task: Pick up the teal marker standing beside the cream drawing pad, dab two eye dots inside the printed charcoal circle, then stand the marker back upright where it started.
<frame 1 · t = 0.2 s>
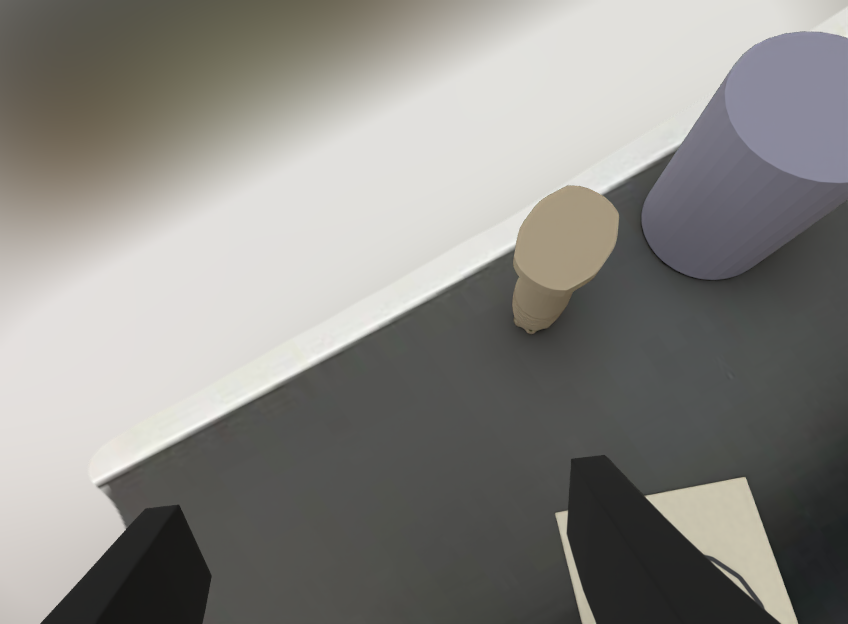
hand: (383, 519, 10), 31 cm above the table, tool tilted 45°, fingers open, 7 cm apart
handle: (531, 316, 42), on the table
container: (701, 225, 43), on the table
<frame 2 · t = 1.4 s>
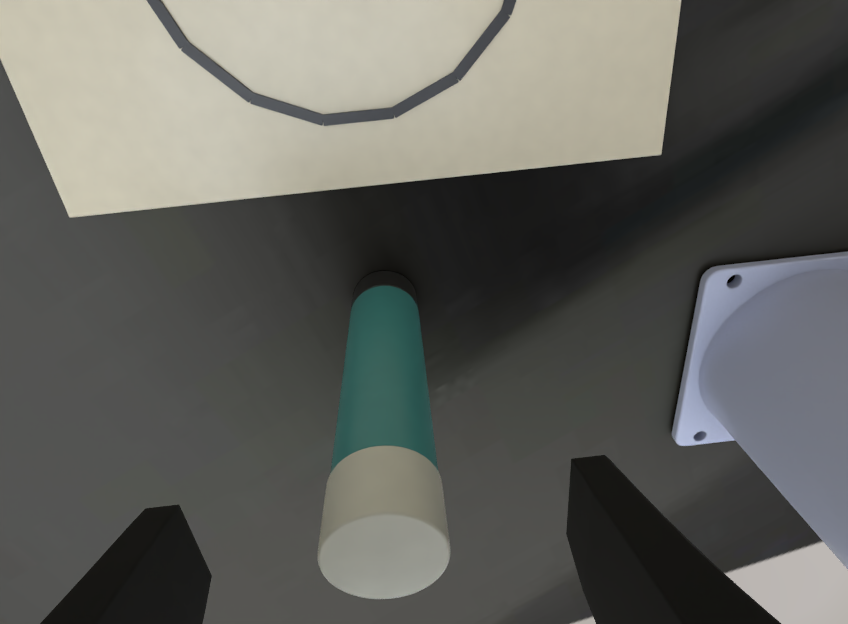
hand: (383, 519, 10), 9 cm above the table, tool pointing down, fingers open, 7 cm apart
marker: (384, 299, 18), on the table
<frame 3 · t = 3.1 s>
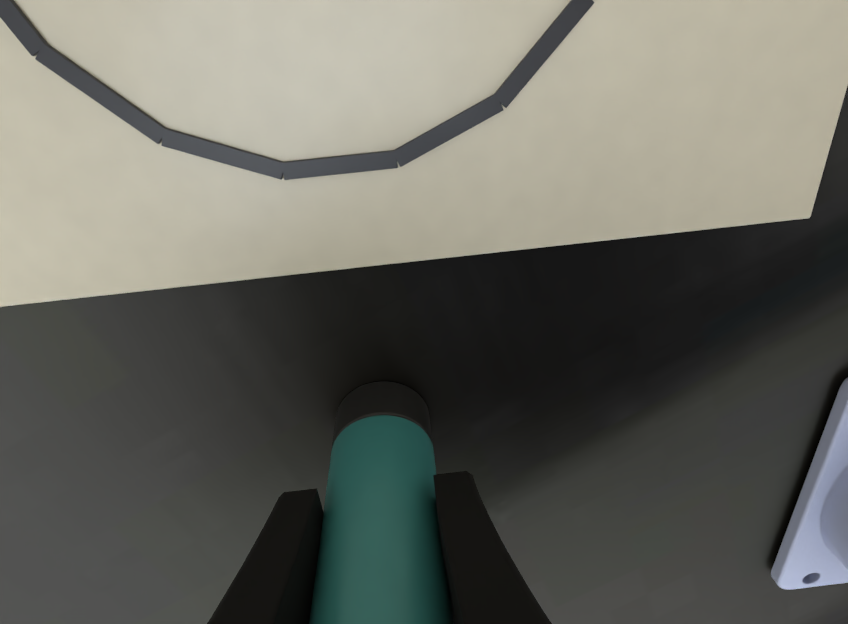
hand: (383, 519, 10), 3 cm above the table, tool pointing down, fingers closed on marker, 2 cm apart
marker: (383, 417, 12), on the table, touching gripper
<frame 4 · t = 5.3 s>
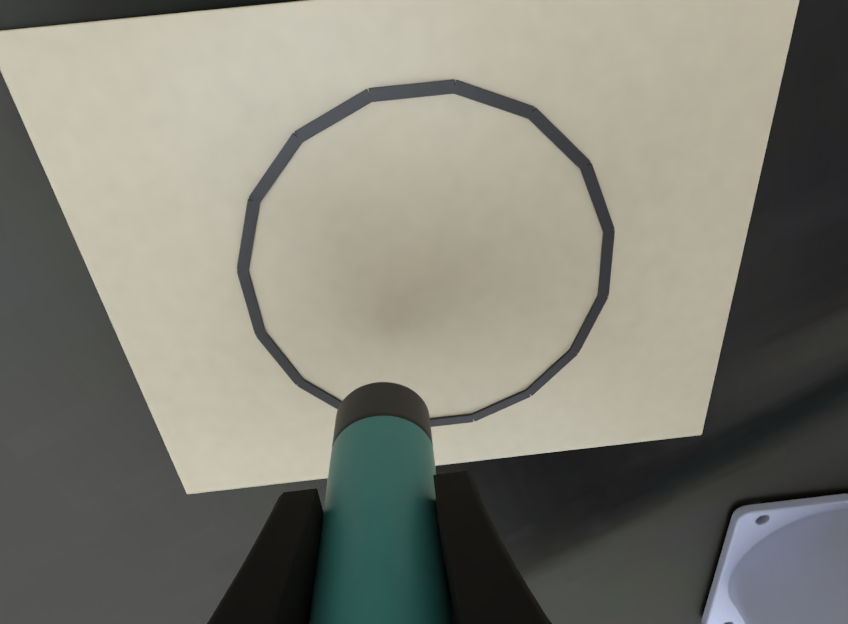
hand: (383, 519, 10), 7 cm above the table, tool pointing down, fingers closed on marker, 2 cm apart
drawing pad: (429, 278, 15), on the table
marker: (383, 418, 12), point 4 cm above the table, touching gripper
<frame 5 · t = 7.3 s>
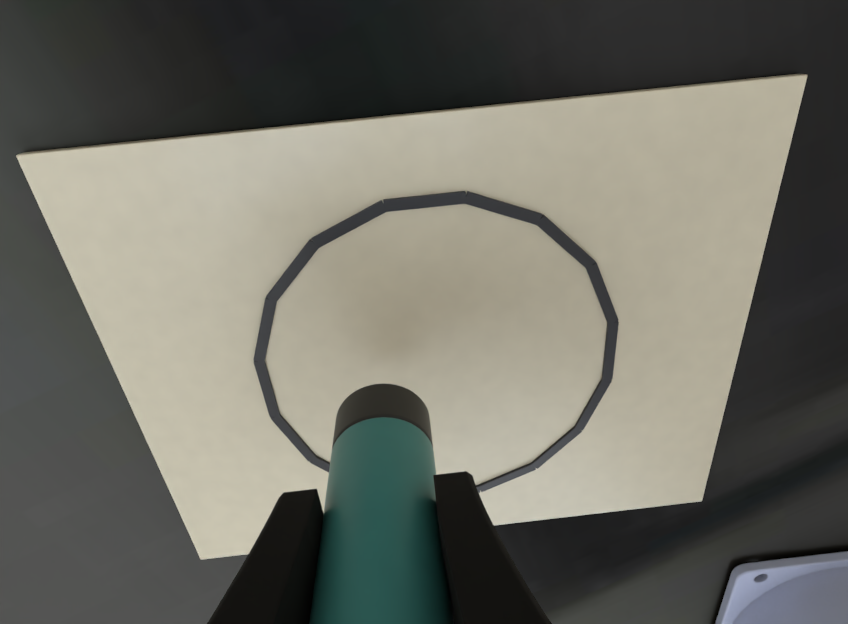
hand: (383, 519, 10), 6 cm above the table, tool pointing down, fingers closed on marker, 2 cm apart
drawing pad: (438, 363, 15), on the table
marker: (383, 419, 12), point 3 cm above the table, touching gripper
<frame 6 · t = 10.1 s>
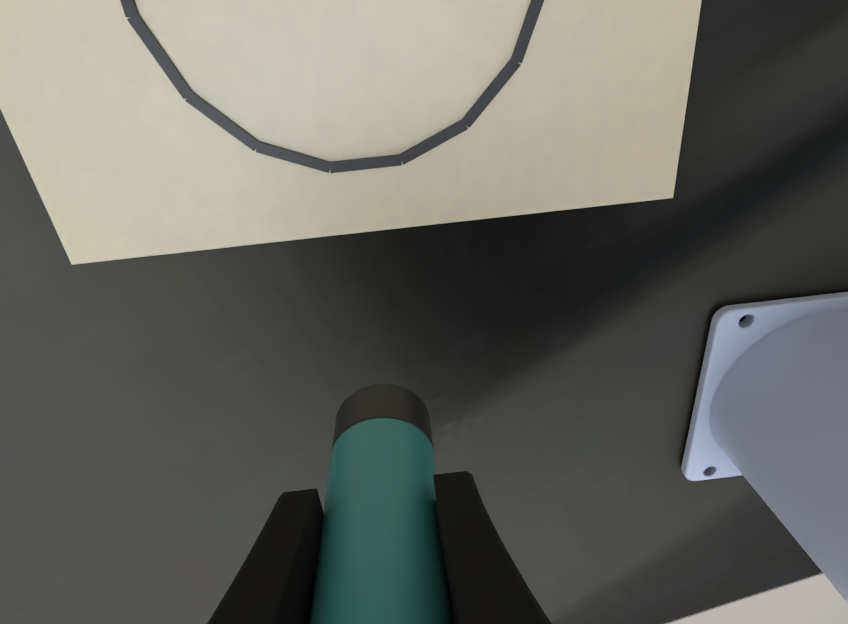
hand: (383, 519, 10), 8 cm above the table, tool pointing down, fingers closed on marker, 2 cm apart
marker: (383, 420, 12), point 5 cm above the table, touching gripper
when the fingers open (3 cm above the table, at t = 11.9 s): marker stays where it is, on the table.
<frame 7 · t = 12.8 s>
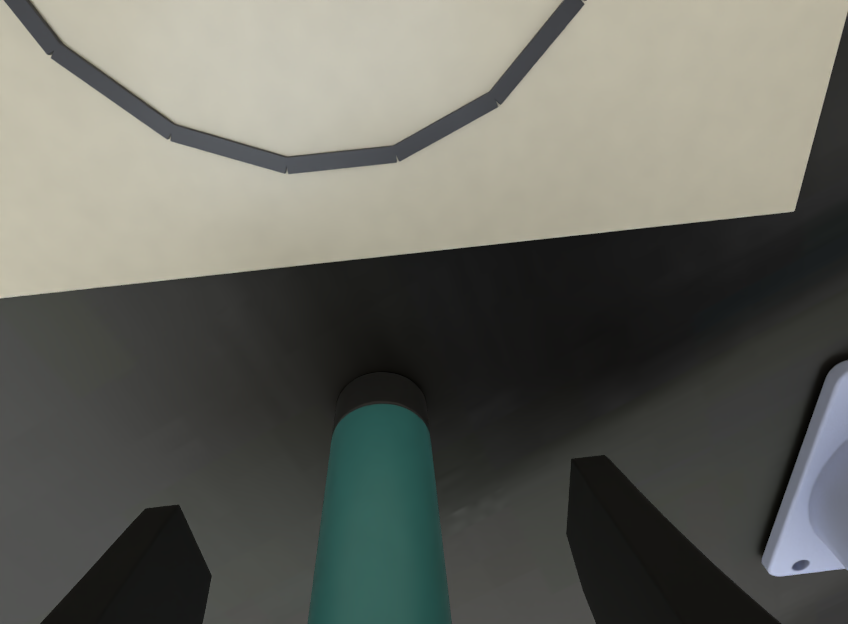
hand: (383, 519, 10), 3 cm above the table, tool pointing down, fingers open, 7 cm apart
marker: (381, 407, 12), on the table
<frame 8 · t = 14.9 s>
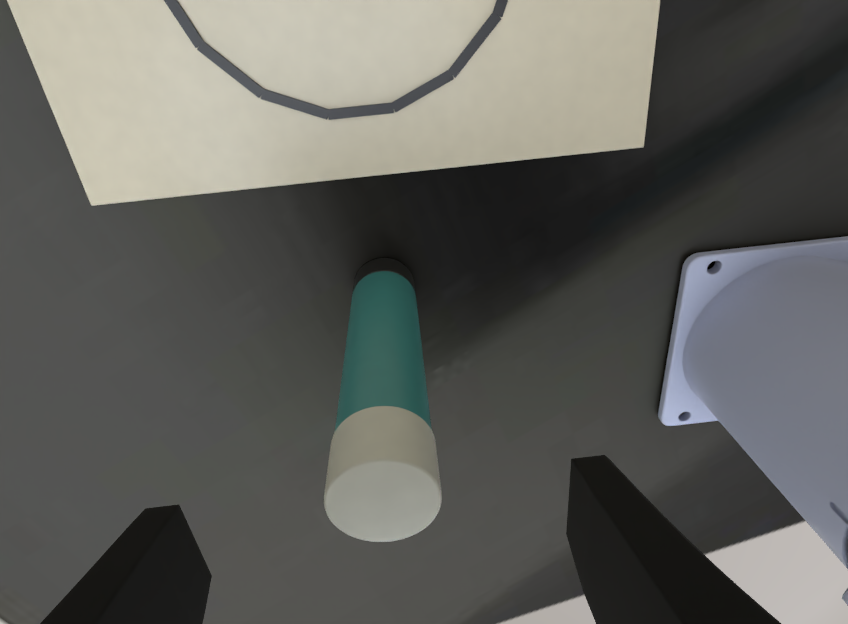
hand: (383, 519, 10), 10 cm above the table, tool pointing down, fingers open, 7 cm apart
marker: (384, 284, 19), on the table
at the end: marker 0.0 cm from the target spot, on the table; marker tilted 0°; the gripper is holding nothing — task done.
